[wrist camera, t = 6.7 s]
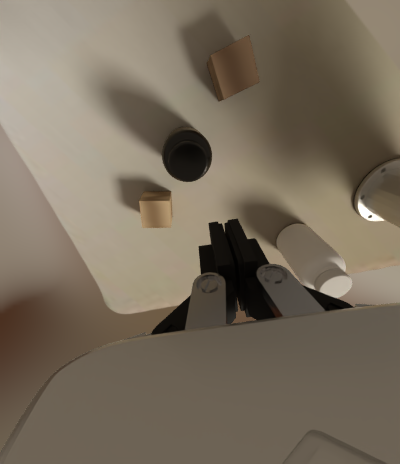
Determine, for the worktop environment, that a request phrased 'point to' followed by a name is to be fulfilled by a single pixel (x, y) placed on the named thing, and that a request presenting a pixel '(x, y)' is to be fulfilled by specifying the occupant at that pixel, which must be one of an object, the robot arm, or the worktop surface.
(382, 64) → the worktop surface
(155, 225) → the maple block
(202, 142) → the supplement bottle
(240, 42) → the walnut block
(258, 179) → the worktop surface
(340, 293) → the pill bottle
